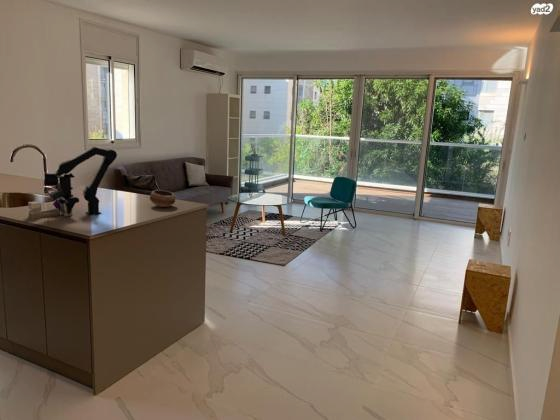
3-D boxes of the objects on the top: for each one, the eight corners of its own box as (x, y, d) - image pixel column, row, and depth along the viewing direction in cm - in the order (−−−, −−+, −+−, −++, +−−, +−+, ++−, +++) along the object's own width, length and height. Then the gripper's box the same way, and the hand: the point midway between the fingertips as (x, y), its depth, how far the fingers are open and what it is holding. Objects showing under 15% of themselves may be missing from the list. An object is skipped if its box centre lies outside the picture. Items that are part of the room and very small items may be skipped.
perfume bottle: (53, 209, 255) (51, 179, 252) (56, 207, 262) (55, 177, 259) (66, 210, 257) (65, 179, 253) (70, 207, 264) (69, 177, 260)
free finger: (72, 215, 245) (71, 204, 244) (64, 216, 242) (63, 205, 241) (68, 213, 248) (67, 203, 247) (60, 214, 245) (59, 204, 244)
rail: (60, 215, 244) (59, 201, 242) (33, 218, 233) (32, 203, 231) (55, 213, 247) (54, 199, 246) (28, 216, 237) (28, 202, 235)
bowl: (168, 210, 272) (168, 194, 270) (145, 207, 275) (145, 192, 273) (179, 205, 287) (179, 190, 285) (157, 203, 290) (157, 188, 288)
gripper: (42, 184, 242) (44, 211, 245) (58, 189, 230) (59, 218, 233) (63, 182, 250) (64, 209, 253) (79, 187, 239) (80, 215, 242)
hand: (66, 213), depth 245 cm, fingers closed on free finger, 5 cm apart
